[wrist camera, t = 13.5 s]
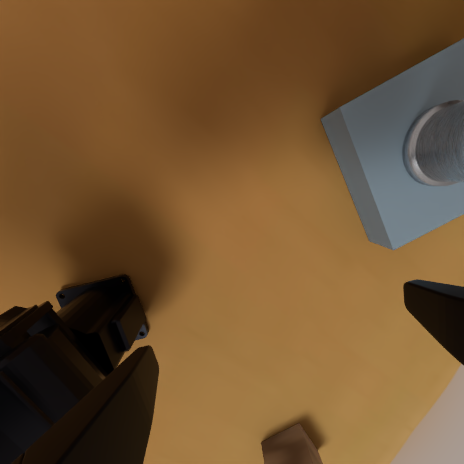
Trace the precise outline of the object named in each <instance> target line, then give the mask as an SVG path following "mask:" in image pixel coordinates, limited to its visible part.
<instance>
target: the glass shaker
mask: <svg viewBox="0 0 464 464" xmlns="http://www.w3.org/2000/svg"><path fill="white" fill-rule="evenodd" d="M402 158H403V163H404V166H405V169H406V171H407V172H408V174H409V175H410V176H411V178H413V179H414V180H415V181H416V182H418V183H420V184H423V185H427V186H449V185H453V184H456V183H458V182H464V100H452V101H448V102H445V103H442V104H439V105H436V106H434V107H431V108H429V109H427V110H426V111H424V112H423V113H422V114H420V115H419V116H418V117H417V118H416V119H415V121H414V122H413V123H412V124H411V126H410V128H409V129H408V131H407V133H406V136H405V139H404V142H403V149H402Z"/></svg>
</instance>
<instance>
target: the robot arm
mask: <svg viewBox="0 0 464 464" xmlns="http://www.w3.org/2000/svg"><path fill="white" fill-rule="evenodd" d="M121 279H124V280H125V282H122V280H121ZM403 289H404V303H405V306H406V308H407V310H408V311H409V312H410V313H411V314H412V315H413V316H414V317H415V318H416V319H417V320H418V321H419V323H420V324H421V325H422V326H423V327H424V328H425V329H426V330H427V331H428V332H429V333H430V334H431V335H432V336H433V337H434V338H435V339H436V340H437V341H438V342H439V343H440V344H441V345H442V346H443V347H444V348H445V349H446V350H447V351H448V352H449V353H450V354H451V355H452V356H454V357H455V358H456V359H457V360H458V361H459V362H460V363H462V364H463V365H464V287H461V286H455V285H449V284H443V283H436V282H430V281H424V280H412V281H408V282H406V283H404V286H403ZM62 294H64V295H65V297H64V296H63V295H62ZM56 298H57V300H58V302H59V304H60V306H61V309H60V310H59V311H58V312H57V313H56V312H55V311H54V310H53V309H52V308H53V306H52V305H51V303H50V302H49V301H46V302H44V303H43V304H41V305H39V306H37V305H34V306H32V307H30V308H23V307H18V306H15V307H13V308H11V309H9V310H8V311H6V312H4V313H3V314H1V315H0V464H143V461H144V457H145V452H146V448H147V444H148V439H149V435H150V430H151V425H152V420H153V413H154V406H155V398H156V391H157V383H158V375H159V365H158V362H157V359H156V357H155V354H154V351H153V349H152V347H151V346H149V345H148V346H144V347H139V348H137V349H136V350H135V351H134V352H133V353H132V354H131V355H130V356H129V357H127V358H126V359H125V360H124V361H123V362H122V363H121V364H120V365H119V366H118V364H119V362H120V360H121V358H122V356H123V355H124V353H125V352H126V351H129V350H130V348H131V346H132V344H133V343H134V341H135V340H139V339H143V338H145V337H146V336H147V335H148V332H149V331H148V327H147V325H146V322H145V320H146V316H145V314H144V311H143V308H142V305H141V303H140V300H139V297H138V296H137V295H136V294H135V292H134V289H133V286H132V283H131V281H130V278H129V277H128V276H127V275H119V276H115V277H111V278H107V279H102V280H98V281H94V282H90V283H86V284H82V285H78V286H74V287H70V288H66V289H62V290H60V291H59V292H58V293H57V294H56ZM141 331H143V332H144V333H141ZM117 366H118V367H117ZM116 367H117V368H116Z"/></svg>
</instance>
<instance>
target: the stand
mask: <svg viewBox="0 0 464 464" xmlns="http://www.w3.org/2000/svg"><path fill="white" fill-rule="evenodd" d="M452 100H464V39H462V40H460V41H458V42H457V43H455V44H453V45H451V46H449V47H447V48H446V49H444V50H442V51H440V52H438V53H437V54H435V55H433V56H431V57H429V58H428V59H426V60H424V61H422V62H420V63H419V64H417V65H415V66H413V67H411V68H410V69H408V70H406V71H404V72H402V73H401V74H399V75H397V76H395V77H393V78H391V79H390V80H388V81H386V82H384V83H382V84H381V85H379V86H377V87H375V88H373V89H372V90H370V91H368V92H366V93H364V94H363V95H361V96H359V97H357V98H355V99H354V100H352V101H350V102H348V103H346V104H345V105H343V106H341V107H339V108H338V109H336V110H334V111H333V112H331V113H329V114H328V115H326V116H325V117H323V118H321V122H322V124H323V127H324V129H325V132H326V134H327V137H328V139H329V142H330V144H331V147H332V149H333V151H334V154H335V156H336V159H337V161H338V164H339V166H340V169H341V171H342V174H343V176H344V179H345V181H346V184H347V186H348V189H349V191H350V194H351V196H352V199H353V201H354V204H355V206H356V209H357V211H358V214H359V216H360V219H361V221H362V224H363V226H364V229H365V231H366V234H367V236H368V239H369V241H371V242H373V243H376V244H379V245H381V246H384V247H386V248H389V249H392V250H395V249H397V248H399V247H401V246H403V245H405V244H407V243H408V242H410V241H412V240H414V239H416V238H418V237H420V236H422V235H424V234H426V233H428V232H430V231H432V230H434V229H436V228H438V227H440V226H442V225H444V224H445V223H447V222H449V221H451V220H453V219H455V218H457V217H459V216H461V215H463V214H464V182H458V183H456V184H453V185H449V186H427V185H423V184H420V183H418V182H416V181H415V180H414V179H413V178H411V176H410V175H409V174H408V172H407V171H406V169H405V166H404V163H403V158H402V149H403V142H404V139H405V136H406V133H407V131H408V129H409V128H410V126H411V124H412V123H413V122H414V121H415V119H416V118H417V117H418V116H419V115H420V114H422V113H423V112H424V111H426V110H427V109H429V108H431V107H434V106H436V105H439V104H442V103H445V102H448V101H452Z"/></svg>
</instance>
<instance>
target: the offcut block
mask: <svg viewBox="0 0 464 464" xmlns="http://www.w3.org/2000/svg"><path fill="white" fill-rule="evenodd" d="M261 445H262V451H263V457H264V463H265V464H323V463H322V461H321V458H320V455H319V453H318V450H317V449H316V447H315V446H314V444H313V443H312V441H311V440H310V438H309V437H308V435H307V434H306V432H305V431H304V429H303V428H302V426H301V425H300V423H298V424H296V425H294V426H292V427H290V428H288V429H286V430H284V431H282V432H280V433H278V434H277V435H275V436H273V437H271V438H269V439H267V440H265V441H263V442H261Z"/></svg>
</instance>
